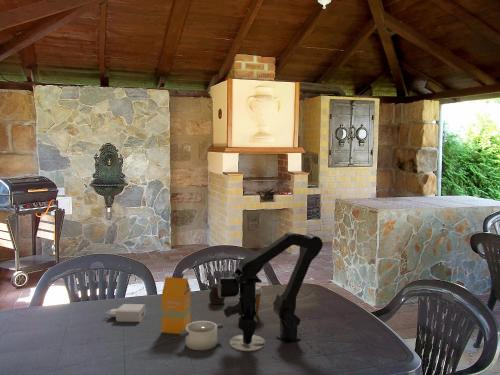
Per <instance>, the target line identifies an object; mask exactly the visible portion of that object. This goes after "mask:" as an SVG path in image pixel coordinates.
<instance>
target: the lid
mask: <svg viewBox="0 0 500 375" xmlns="http://www.w3.org/2000/svg"><path fill="white" fill-rule="evenodd" d="M229 345H230V347H231V348H233V349H234V350H238V351H242V352H253V351H258V350H261V349H263V347H265V345H266V340H265V339H264V338H263V337H262V336H261V335H260V336H259V335H255V334H253V336H252V338H251V341H250V343H249V344H246V342H245V337H244V332H243V331H242V334H239V335H238V334H237V335H235V336H233V337H231V338H230V340H229Z"/></svg>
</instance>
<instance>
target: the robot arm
mask: <svg viewBox="0 0 500 375" xmlns="http://www.w3.org/2000/svg"><path fill="white" fill-rule="evenodd" d="M323 245H324V242H323V240H322V239H321V237H319V236H317V235H315V234H312V233H305V234H302V233H293V232H291V231H288V232H285V234H284V235H282V236H281V237H279V238H278V239H276V240H275V241H274V242H272V243H270V244H269V245H267V246H266V247H265V248H263V249H261V250H260V251H259V252H257V253H255V254H249V255H247V256H246V257H244V258H242V259H240V260H239V261H238V264H237V267H236V269H235V271H234V272H233V274H232V275H231V276H229V277H226V276H221V277H219V278H218V282H217V284H218V295H219V298H223V297H225V298H233V297H236V296H238V300H235V301H234V300H233V301H232V302H231V301H230V302H229V303H228V302H227V303H225V304H224V305H223V308H222V310H223V313H224V315H225V317H226V318H230V317H231V316H234V315H237V314H238V316H240V317H239V318H238V327H237V328H239V330H242V333H243V332H244V337H245V342H246V344H249V343H250V341H251V338H252V336H253V335H255V331H256V330H257V328H258V318H257V316H256V317H255V315H256V284H258V283H259V284H260V283H262V280H261V279H260V278H259V277H258V274H259V273H260V272H261V271H262V269H263V268H264V266H265V265H266V264H268V262H270V261H272V260H273V259H274V258H276V257H278V256H279V255H280V254H283V252H284V251H286V250H288V249H289V248H290V247H292V246H296V247H299V256H298V258H297V261H296V263H295V266H294V268H293V270H292V273H291V275H290V278H289V280H288V283H287V285H286V286H285V287H286V288H285V289H284V291H283V292H282V294H278V293H277V294H276V296H275V300H274V302H273V303H272V305H273V309H272V310H273V312H274V314H276V315H277V317H278V319H280V320H279V334H277V335H276V338H278V340H281V341H282V342H284V343H287V344H288V343H292V342H296V341H300V340H301V337H300V336H299V335H298V326H300V324H301V321H302V320H301V319H300V317H298V316H297V315H296V313H295V312H296V308H297V296H298V294H299V292H300V290H301V288H302V285H303V282H304V280H305V277H306V275H307V273H308V270H309V268H310V266H311V263H312V261H313V260H314V259H316V258H317V256H318V255H319V254H320V252H321V251H322V248H323ZM239 288H240V291H239Z"/></svg>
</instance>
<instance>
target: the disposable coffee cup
mask: <svg viewBox="0 0 500 375" xmlns="http://www.w3.org/2000/svg"><path fill="white" fill-rule="evenodd" d="M262 291H263V289H262V286H261V285H260V284H258V283H256V315H255V317H256V318H257V317H258V315H259V309H260V301H261V295H262ZM239 292H240V287H239Z"/></svg>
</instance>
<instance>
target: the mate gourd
mask: <svg viewBox="0 0 500 375" xmlns="http://www.w3.org/2000/svg"><path fill="white" fill-rule="evenodd" d="M208 298H209V302H210V303H211V304H213V305H222V304H223V303H224V301H225V299H226V297H223V298H219V295H218V283H212V284H211V286H210V291H209V294H208Z"/></svg>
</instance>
